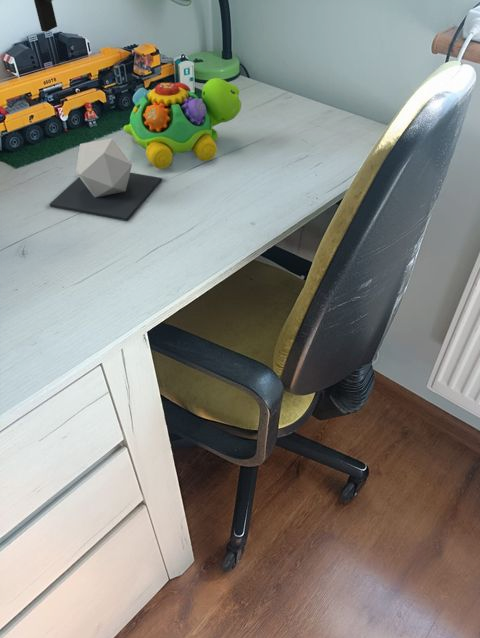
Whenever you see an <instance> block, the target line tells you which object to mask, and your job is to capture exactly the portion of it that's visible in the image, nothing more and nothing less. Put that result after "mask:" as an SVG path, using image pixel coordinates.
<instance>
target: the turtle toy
mask: <svg viewBox="0 0 480 638" xmlns="http://www.w3.org/2000/svg"><path fill="white" fill-rule="evenodd" d="M239 95H240V89H239V88H238V86H236V85H235V84H233V83H230V82H228V81H226V80H225V79H223V78H218V77H214V78H211V79H209V80H207V81H206V82H205V83H204V85H203V87H202V90H201V99H200V98H199V96H198V95H196V93H194V92H192V91H191V88H190V87H189V86H188V85H187V84H186V83H183V82H176V83H174V82H163V81H162V82H160V83H158V84H157V85H156V87H154V88H153V89H148V90H147V89H146V88H145V87H140V88H138V89H137V90H136V91H135V93H134V94H133V96H132V102H133V104H134V107H133V109H132V111H131V113H130V116H129V123H128V124H125V125H124V126H123V131H124V132H125V133H126V134H128V135H129V136H131V137H132V139H133V140H134V142H136V143H137V144H138V145H139V146H141V147H142V149H144V150H146V151H145V154H146V158H147V160H148V162H149V163H151V165H152V166H153V167H155V168H156V169H160V170H163V169H166V168H168V167H169V166H171V165H172V162H173V160H174V157H173V155H174V154H181V153H186V152H189V151H192V153H193V154H194V155H195V156H196V158H197V159H199V160H200V161H203V162H208V161H211V160H212V159H214V158H215V156H216V155H217V152H218V147H217V144H216V142H215V141H218V139H219V135H218V132H217V130H216V129H214V128H213V127H215V126H217V125H220V124H222V123H227V122H229V121H232V120H234V119H235V118H236V116H238V115H239V113H240V111H241V109H242V100H241V99H240V97H239Z"/></svg>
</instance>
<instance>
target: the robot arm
mask: <svg viewBox="0 0 480 638" xmlns="http://www.w3.org/2000/svg"><path fill="white" fill-rule="evenodd" d="M33 2H34V6H35V10H36V14H37V19H38V22H39V26H40V30H41V32H46V33H47V32H50V31H51V30H54V29H55V28H58V24H57V19H56V14H55V10H54V5H53V0H33Z"/></svg>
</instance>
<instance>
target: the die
mask: <svg viewBox="0 0 480 638" xmlns="http://www.w3.org/2000/svg"><path fill="white" fill-rule="evenodd" d="M132 166H133V163H132V162H131V161H130V160H129V158H128V157H127V155H126V154H125V153H124V152H123V151H122V149H121V147H120V146H119V145H118V144H117V142H116V141H115V139H114V138H113V137H112V138H107V139H101V140H100V139H99V140H95V141H89V142H83V143H79V148H78V155H77V161H76V167H75V173H76V175H77V176H78V178H79V177H80V179H81V180H82V181H83V183H84V184H85V185H86V187H87V188H88V189H89V190H90V192H91V193H92V194H93V196H94V197H95V198H96V197H101V196H105V195H110V194H115V193H120V192H124V191H126V188H127V184H128V179H129V175H130V173H131V172H132V168H133V167H132Z"/></svg>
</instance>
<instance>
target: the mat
mask: <svg viewBox="0 0 480 638" xmlns="http://www.w3.org/2000/svg"><path fill="white" fill-rule="evenodd" d="M162 182H163V178H162V177H158V176H152V175H147V174H140V173H135V172H130V175H129V179H128V184H127V188H126V191H124V192H120V193H115V194H110V195H105V196H101V197H96V198H95V197H94V196H93V194H92V193H91V192H90V190H89V189H88V188H87V187H86V185H85V184H84V183H83V181H82V180H81V179H80V177H79V176H78V177H77V178H76V179H75V180H74V181H73V182H72V183H71V184H70V185H69V186H67V187H66V188H65V189H64V190H63V191H62V192H61V193H60V194H58V196H56V197H55V198H54V199H53V200H52V201H51V202H49V207H50V208H56V209H62V210H67V211H71V212H78V213H82V214H89V215H94V216H97V217H98V216H100V217H104V218H110V219H115V220H120V221H125V222H128V221H129V220H130V219H131V218H132V216H133V215H134V214H135V213H136V211H137V210H139V208H140V207H141V206H142V205H143V204H144V203H145V201H146V200H147V199H148V198H149V196H151V195H152V193H153V192H154V191H155V190H156V188H157V187H158V186H159V185H160V184H161V183H162Z"/></svg>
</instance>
